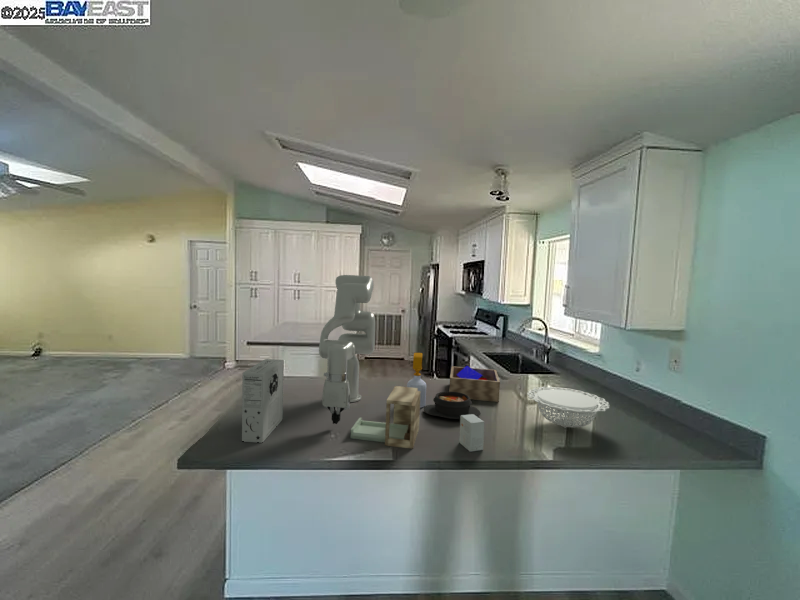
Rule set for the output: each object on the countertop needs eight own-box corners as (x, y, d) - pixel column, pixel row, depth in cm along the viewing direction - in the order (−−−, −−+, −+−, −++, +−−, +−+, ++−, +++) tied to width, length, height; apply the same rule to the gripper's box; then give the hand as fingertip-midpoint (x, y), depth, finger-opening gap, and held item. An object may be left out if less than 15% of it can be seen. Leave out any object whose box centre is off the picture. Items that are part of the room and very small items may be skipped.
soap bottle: (425, 402, 188) (428, 352, 186) (425, 409, 179) (427, 356, 177) (407, 401, 189) (409, 350, 187) (405, 407, 180) (407, 354, 178)
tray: (350, 438, 145) (350, 429, 145) (359, 425, 157) (359, 417, 157) (403, 444, 142) (404, 435, 142) (408, 431, 154) (409, 422, 154)
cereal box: (264, 418, 160) (265, 358, 158) (282, 419, 160) (283, 359, 158) (241, 442, 139) (242, 372, 137) (262, 443, 139) (263, 373, 137)
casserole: (475, 408, 183) (476, 390, 182) (484, 424, 165) (485, 404, 164) (421, 406, 182) (422, 389, 182) (425, 422, 164) (426, 402, 163)
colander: (574, 412, 183) (576, 385, 182) (626, 442, 152) (629, 410, 151) (511, 415, 176) (513, 387, 175) (552, 446, 145) (555, 413, 144)
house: (475, 385, 218) (476, 365, 217) (492, 397, 199) (493, 375, 198) (455, 386, 216) (456, 365, 215) (470, 398, 196) (471, 375, 195)
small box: (483, 450, 140) (485, 421, 139) (469, 452, 138) (471, 423, 137) (472, 440, 147) (473, 413, 147) (458, 442, 145) (460, 414, 145)
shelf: (384, 445, 141) (386, 399, 139) (393, 426, 158) (395, 385, 156) (413, 448, 139) (415, 402, 138) (418, 429, 156) (420, 388, 155)
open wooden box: (449, 397, 197) (450, 377, 196) (450, 383, 221) (451, 366, 220) (498, 401, 193) (499, 382, 193) (495, 387, 217) (496, 369, 217)
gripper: (314, 377, 149) (314, 424, 151) (352, 381, 146) (351, 428, 148) (322, 372, 156) (321, 416, 158) (358, 375, 154) (357, 420, 156)
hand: (335, 422), depth 153 cm, fingers closed
